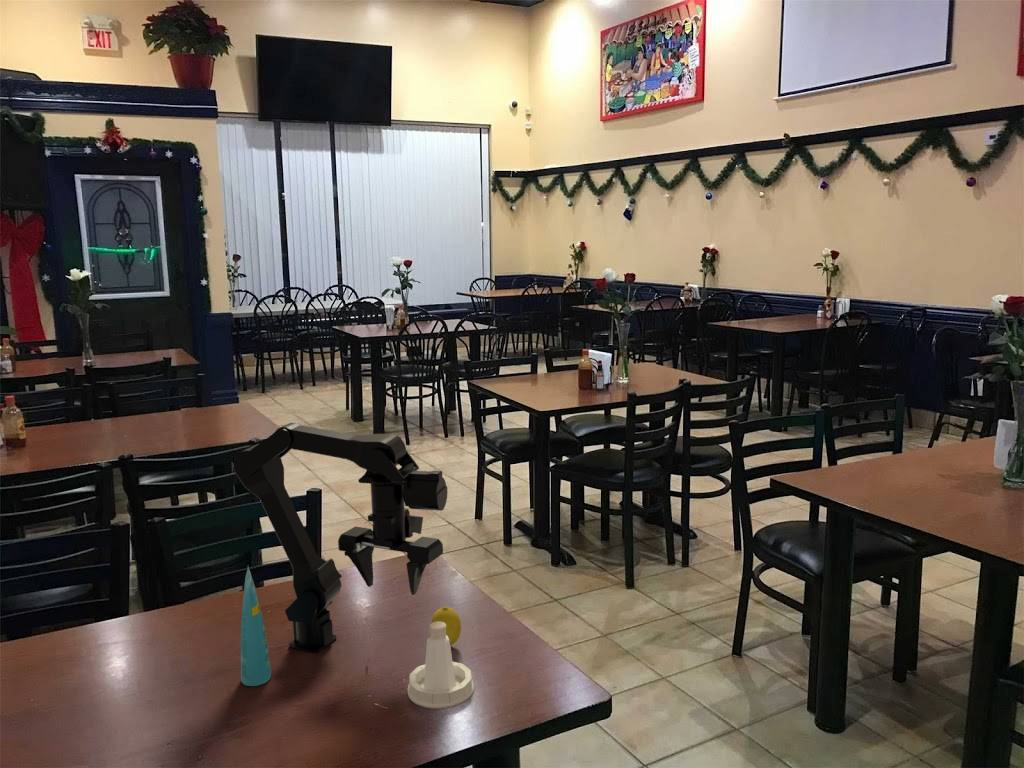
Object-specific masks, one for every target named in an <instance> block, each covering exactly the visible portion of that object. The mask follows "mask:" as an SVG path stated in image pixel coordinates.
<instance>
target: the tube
mask: <svg viewBox="0 0 1024 768" xmlns="http://www.w3.org/2000/svg"><path fill="white" fill-rule="evenodd" d="M243 587H244V588H243V595H242V597H243V598H242V610H241V623H240V625H241V627H240V676H241V677H240V678H241V679H240V680H241V683H242V684H243V685H244V686H247V687H248V686H249V687H257V686H261V685H264V684H265V683H267V682H268V681H269V680H270V679H271V677H272V673H271V672H272V671H271V663H270V655H269V647H268V641H267V634H266V628H265V624H264V617H263V613H262V608H261V603H260V600H259V596H258V593H257V589H256V586H255V583H254V579H253V577H252V573H251V571H250V567H249V565H247V570H246V573H245V578H244V586H243Z"/></svg>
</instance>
